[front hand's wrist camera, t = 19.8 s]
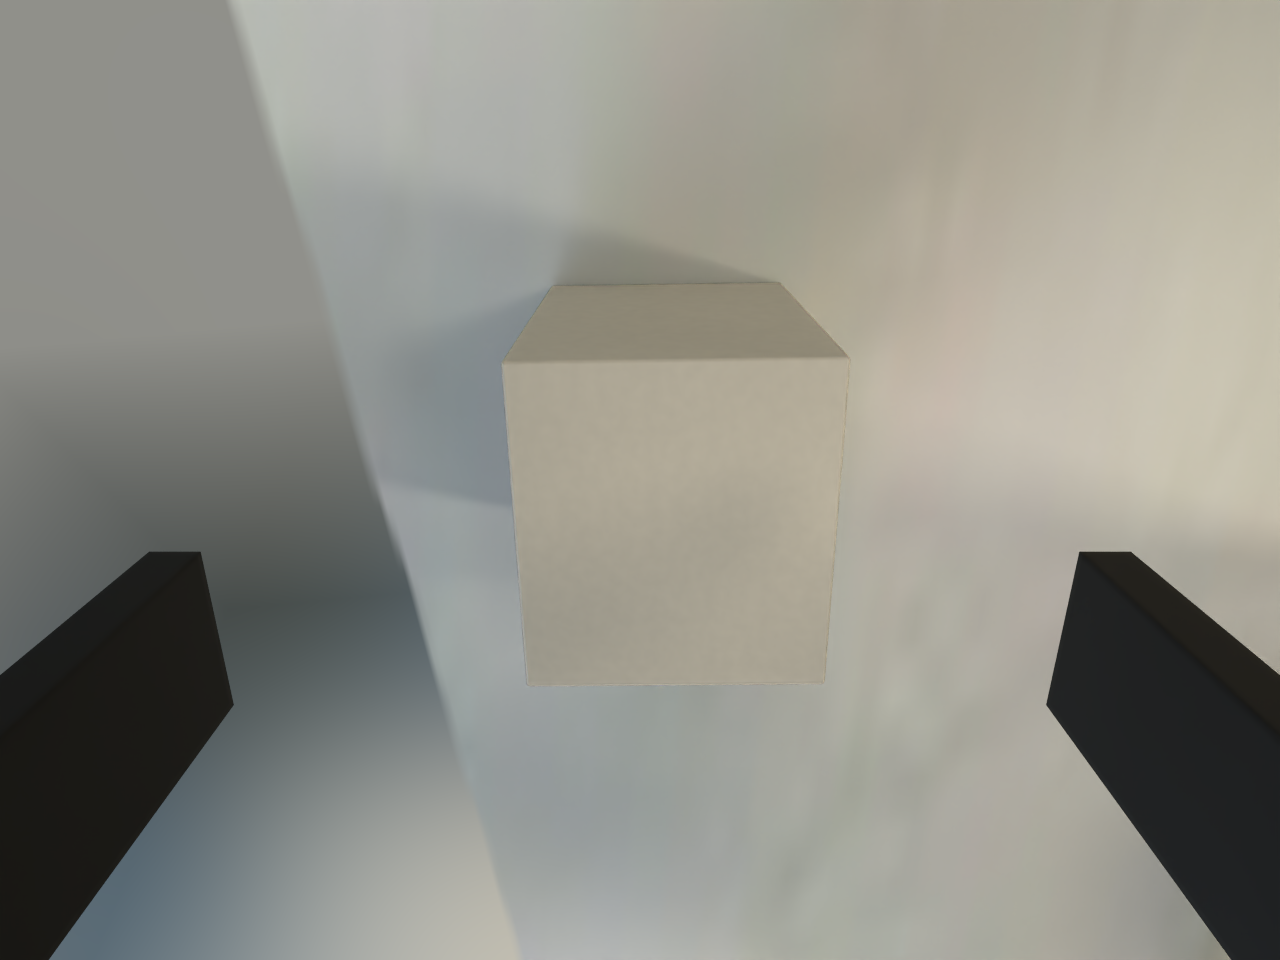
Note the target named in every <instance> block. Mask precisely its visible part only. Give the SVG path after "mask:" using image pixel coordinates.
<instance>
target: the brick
mask: <svg viewBox="0 0 1280 960" xmlns="http://www.w3.org/2000/svg"><path fill="white" fill-rule="evenodd" d="M501 369H502V381H503V394H504V406H505V419H506V431H507V444H508V457H509V469H510V482H511V494H512V507H513V519H514V532H515V544H516V557H517V569H518V582H519V595H520V607H521V620H522V632H523V645H524V657H525V670H526V682H527V685H528V686H647V685H776V684H823V683H824V681H825V670H826V657H827V645H828V632H829V620H830V607H831V595H832V582H833V570H834V557H835V545H836V532H837V519H838V507H839V494H840V482H841V469H842V457H843V444H844V432H845V419H846V407H847V394H848V382H849V369H850V358H849V356H848V355H847V354H846V353H845V352H844V351H843V350H842V349H841V348H840V346H839V345H838V344H837V343H836V342H835V341H834V340H833V339H832V338H831V337H830V336H829V335H828V334H827V332H826V331H825V330H824V329H823V328H822V327H821V326H820V325H819V324H818V323H817V322H816V321H815V320H814V318H813V317H812V316H811V315H810V314H809V313H808V312H807V311H806V310H805V309H804V308H803V307H802V306H801V304H800V303H799V302H798V301H797V300H796V299H795V298H794V297H793V296H792V295H791V294H790V293H789V292H788V290H787V289H786V288H785V287H784V286H783V285H782V284H781V283H719V284H651V285H582V286H552V287H551V288H550V290H549V291H548V293H547V294H546V296H545V297H544V299H543V301H542V302H541V304H540V305H539V307H538V308H537V310H536V311H535V313H534V314H533V316H532V317H531V319H530V320H529V322H528V323H527V325H526V326H525V328H524V329H523V331H522V332H521V334H520V335H519V337H518V338H517V340H516V341H515V343H514V344H513V346H512V347H511V349H510V350H509V352H508V353H507V355H506V356H505V358H504V360H503V361H502V363H501Z"/></svg>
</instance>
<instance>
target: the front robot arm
mask: <svg viewBox="0 0 1280 960" xmlns="http://www.w3.org/2000/svg"><path fill="white" fill-rule="evenodd" d="M233 705H234V704H233V699H232V695H231V690H230V685H229V681H228V676H227V672H226V667H225V662H224V658H223V653H222V649H221V644H220V639H219V635H218V630H217V626H216V621H215V617H214V612H213V607H212V602H211V598H210V593H209V589H208V584H207V579H206V575H205V570H204V565H203V561H202V556H201V552H148V553H147V554H146V555H145V556H144V557H142V558H141V559H140V560H139V561H138V562H136V563H135V564H134V565H133V566H132V567H130V568H129V569H128V570H127V571H125V572H124V573H123V574H122V575H121V576H119V577H118V578H117V579H116V580H115V581H113V582H112V583H111V584H110V585H109V586H107V587H106V588H105V589H104V590H103V591H101V592H100V593H99V594H98V595H96V596H95V597H94V598H93V599H92V600H90V601H89V602H88V603H87V604H86V605H84V606H83V607H82V608H81V609H80V610H78V611H77V612H76V613H75V614H74V615H72V616H71V617H70V618H69V619H67V620H66V621H65V622H64V623H63V624H61V625H60V626H59V627H58V628H57V629H55V630H54V631H53V632H52V633H51V634H49V635H48V636H47V637H46V638H45V639H43V640H42V641H41V642H40V643H39V644H37V645H36V646H35V647H34V648H33V649H31V650H30V651H29V652H28V653H26V654H25V655H24V656H23V657H22V658H20V659H19V660H18V661H17V662H16V663H14V664H13V665H12V666H11V667H10V668H8V669H7V670H6V671H5V672H4V673H2V674H1V675H0V960H49V959H50V957H51V956H52V954H53V953H54V952H55V950H56V949H57V948H58V946H59V945H60V943H61V942H62V941H63V939H64V938H65V937H66V935H67V934H68V932H69V931H70V930H71V928H72V927H73V926H74V924H75V923H76V921H77V920H78V919H79V917H80V916H81V914H82V913H83V912H84V910H85V909H86V908H87V906H88V905H89V903H90V902H91V901H92V899H93V898H94V897H95V895H96V894H97V892H98V891H99V890H100V888H101V887H102V886H103V884H104V883H105V881H106V880H107V879H108V877H109V876H110V875H111V873H112V872H113V870H114V869H115V868H116V866H117V865H118V864H119V862H120V861H121V859H122V858H123V857H124V855H125V854H126V853H127V851H128V850H129V848H130V847H131V846H132V844H133V843H134V841H135V840H136V839H137V837H138V836H139V835H140V833H141V832H142V830H143V829H144V828H145V826H146V825H147V824H148V822H149V821H150V819H151V818H152V817H153V815H154V814H155V813H156V811H157V810H158V808H159V807H160V806H161V804H162V803H163V802H164V800H165V799H166V797H167V796H168V795H169V793H170V792H171V791H172V789H173V788H174V786H175V785H176V784H177V782H178V781H179V779H180V778H181V777H182V775H183V774H184V773H185V771H186V770H187V769H188V767H189V766H190V764H191V763H192V762H193V760H194V759H195V758H196V756H197V755H198V753H199V752H200V751H201V749H202V748H203V747H204V745H205V744H206V742H207V741H208V740H209V738H210V737H211V735H212V734H213V733H214V731H215V730H216V729H217V727H218V726H219V724H220V723H221V722H222V720H223V719H224V717H225V716H226V715H227V713H228V712H229V711H230V709H231V708H232V707H233ZM1046 705H1047V707H1048V708H1049V709H1050V711H1051V712H1052V713H1053V715H1054V716H1055V718H1056V719H1057V720H1058V722H1059V723H1060V724H1061V726H1062V727H1063V729H1064V730H1065V731H1066V733H1067V734H1068V735H1069V737H1070V738H1071V740H1072V741H1073V742H1074V744H1075V745H1076V747H1077V748H1078V749H1079V751H1080V752H1081V753H1082V755H1083V756H1084V758H1085V759H1086V760H1087V762H1088V763H1089V764H1090V766H1091V767H1092V769H1093V770H1094V771H1095V773H1096V774H1097V775H1098V777H1099V778H1100V780H1101V781H1102V782H1103V784H1104V785H1105V786H1106V788H1107V789H1108V791H1109V792H1110V793H1111V795H1112V796H1113V797H1114V799H1115V800H1116V802H1117V803H1118V804H1119V806H1120V807H1121V808H1122V810H1123V811H1124V813H1125V814H1126V815H1127V817H1128V818H1129V819H1130V821H1131V822H1132V824H1133V825H1134V826H1135V828H1136V829H1137V831H1138V832H1139V833H1140V835H1141V836H1142V837H1143V839H1144V840H1145V842H1146V843H1147V844H1148V846H1149V847H1150V848H1151V850H1152V851H1153V853H1154V854H1155V855H1156V857H1157V858H1158V859H1159V861H1160V862H1161V864H1162V865H1163V866H1164V868H1165V869H1166V870H1167V872H1168V873H1169V875H1170V876H1171V877H1172V879H1173V880H1174V881H1175V883H1176V884H1177V886H1178V887H1179V888H1180V890H1181V891H1182V892H1183V894H1184V895H1185V897H1186V898H1187V899H1188V901H1189V902H1190V904H1191V905H1192V906H1193V908H1194V909H1195V910H1196V912H1197V913H1198V915H1199V916H1200V917H1201V919H1202V920H1203V921H1204V923H1205V924H1206V926H1207V927H1208V928H1209V930H1210V931H1211V932H1212V934H1213V935H1214V937H1215V938H1216V939H1217V941H1218V942H1219V943H1220V945H1221V946H1222V948H1223V949H1224V950H1225V952H1226V953H1227V954H1228V956H1229V957H1230V959H1231V960H1280V675H1279V674H1278V673H1277V672H1275V671H1274V670H1273V669H1272V668H1270V667H1269V666H1268V665H1267V664H1266V663H1264V662H1263V661H1262V660H1261V659H1260V658H1258V657H1257V656H1256V655H1255V654H1254V653H1252V652H1251V651H1250V650H1249V649H1248V648H1246V647H1245V646H1244V645H1243V644H1241V643H1240V642H1239V641H1238V640H1237V639H1235V638H1234V637H1233V636H1232V635H1231V634H1229V633H1228V632H1227V631H1226V630H1225V629H1223V628H1222V627H1221V626H1220V625H1219V624H1217V623H1216V622H1215V621H1214V620H1213V619H1211V618H1210V617H1209V616H1208V615H1206V614H1205V613H1204V612H1203V611H1202V610H1200V609H1199V608H1198V607H1197V606H1196V605H1194V604H1193V603H1192V602H1191V601H1190V600H1188V599H1187V598H1186V597H1185V596H1184V595H1182V594H1181V593H1180V592H1179V591H1177V590H1176V589H1175V588H1174V587H1173V586H1171V585H1170V584H1169V583H1168V582H1167V581H1165V580H1164V579H1163V578H1162V577H1161V576H1159V575H1158V574H1157V573H1156V572H1155V571H1153V570H1152V569H1151V568H1150V567H1149V566H1147V565H1146V564H1145V563H1144V562H1142V561H1141V560H1140V559H1139V558H1138V557H1136V556H1135V555H1134V554H1133V553H1132V552H1079V556H1078V561H1077V565H1076V570H1075V575H1074V579H1073V584H1072V589H1071V593H1070V598H1069V602H1068V607H1067V612H1066V616H1065V621H1064V625H1063V630H1062V635H1061V639H1060V644H1059V649H1058V653H1057V658H1056V662H1055V667H1054V672H1053V676H1052V681H1051V685H1050V690H1049V695H1048V699H1047V704H1046Z"/></svg>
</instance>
